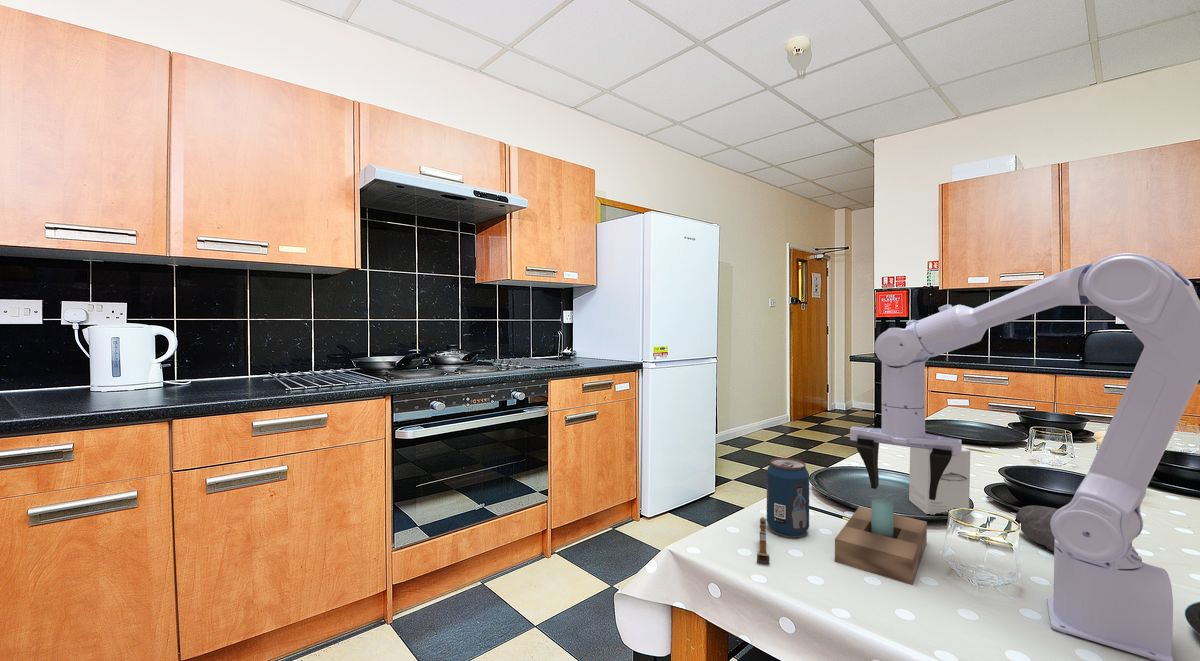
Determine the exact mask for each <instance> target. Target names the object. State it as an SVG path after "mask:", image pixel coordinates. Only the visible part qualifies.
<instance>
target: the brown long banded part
mask: <svg viewBox="0 0 1200 661" xmlns="http://www.w3.org/2000/svg"><path fill="white" fill-rule="evenodd" d="M759 529H760V531H759V552H757V553H756V562H758V563H765V564H770V563H771V562H770V561H771V559H770V558H771V557H770V553H768V552H767V531H766V529H767V518H765V517H764V516H762V517H760V518H759Z"/></svg>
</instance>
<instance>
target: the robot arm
mask: <svg viewBox="0 0 1200 661" xmlns="http://www.w3.org/2000/svg"><path fill="white" fill-rule="evenodd" d="M1059 306H1086V307H1087V306H1088V307H1089V306H1097V307H1099V308H1100V309H1102V310H1103V311H1105V312H1106V313H1108V314H1110V315H1112V316H1114V317H1116V318H1118V319H1119V320H1121V321H1122V322H1124V325H1126V327H1127V328H1128V329H1129V330H1130V331H1131V332H1132V333H1133V334H1134V336H1135V337H1136V338H1138V340H1139V341H1140V342H1141V343H1142V344H1143V350H1142V351H1141V353H1140V356H1139V358H1138V360H1137V362H1136V365H1135V367H1134V369H1133V371H1132V374H1131V376H1130V378H1129V380H1128V383H1127V384H1126V387H1125V389H1124V391H1123V394H1122V396H1121V398H1120V400H1119V403H1118V405H1117V407H1116V409H1115V412H1114V414H1113V416H1112V418H1111V421H1110V423H1109V424H1108V428H1107V430H1106V432H1105V435H1104V436H1103V437H1102V438H1103V439H1102V441H1101V443H1100V445H1099V447H1098V450H1097V452H1096V453H1095V456H1094V459H1093V460H1092V464H1091V465H1090V467H1089V470H1088V471H1087V473H1086V475H1085V476H1084V478H1083V480H1082V481H1081V483H1080V484H1079V485H1078V487H1077V489H1076V491H1075V493H1074V495H1073V497H1072V499H1071V500H1070V502H1069V503H1067V504H1065V505H1064V506H1061V507H1060V508H1057V509H1058V510H1057V511H1056V512H1055V513H1054V514H1053V516H1052V518H1051V522H1050V525H1051V531H1052V533H1053V536H1054V537H1055V540H1054V543H1055V545H1054V552H1053V556H1054V557H1053V595H1052V596H1048V595H1047V596H1046V604H1047V609H1048V615H1049V617H1048V618H1049V622H1050V627H1051V628H1052V629H1054V630H1055V631H1058V632H1061V633H1065V634H1068V635H1071V636H1074V637H1075V636H1076V637H1078V638H1082V639H1083V640H1088V641H1092V642H1095V643H1098V644H1102V645H1105V646H1109V647H1110V648H1115V649H1117V650H1121V651H1125V652H1128V653H1130V654H1134V655H1137V656H1141V657H1144V658H1148V659H1151V660H1155V661H1174V658H1173V623H1174V598H1173V597H1174V595H1173V588H1172V587H1173V586H1172V583H1171V579H1170V575H1169V574H1168V571H1167V570H1166V569H1164V568H1163V567H1162V568H1161V567H1159V566H1155V565H1153V564H1148V563H1146V562H1143V558H1142V556H1140V555H1139V554H1138V552H1137V550H1136V549H1135V547H1134V546H1133V544H1132V545H1130V544H1131V542H1132V543H1133V541H1134V540H1135V539H1136V538H1137V537H1139V536H1140V535H1141V533H1142V531H1143V527H1144V521H1143V517H1142V514H1141V506H1142V502H1143V500H1144V498H1145V496H1146V492H1147V489H1148V486H1149V484H1150V482H1151V480H1152V478H1153V475H1154V473H1156V469H1157V467H1158V466H1159V463H1160V461H1161V459H1162V457H1163V455H1164V453H1165V451H1166V449H1167V447H1168V445H1169V443H1170V441H1171V439H1172V437H1173V435H1174V433H1175V430H1176V429H1177V426H1178V425H1179V423H1180V420H1181V419H1182V416H1183V414H1184V412H1185V410H1186V408H1187V406H1188V404H1189V402H1190V400H1191V398H1192V396H1193V393H1194V392H1195V389H1196V388H1197V385H1198V383H1199V381H1200V298H1199V296H1198V295H1197V291H1196V290H1195V287H1194V284H1193V282H1192V281H1190V280H1189V279H1188V278H1187V277H1185V276H1184V275H1183V274H1182V273H1180V272H1179V271H1177V269H1175V268H1174V267H1173V266H1172V265H1170V264H1168V263H1166V262H1164V261H1162V260H1159V259H1155V258H1152V257H1150V256H1148V255H1145V254H1141V253H1135V252H1132V253H1131V252H1125V253H1124V252H1123V253H1116V254H1113V255H1109V256H1106V257H1104V258H1102V259H1100V260H1098V261H1097V262H1095V263H1090V262H1089V263H1084V264H1081V265H1077V266H1074V267H1071V268H1069V269H1066V270H1063V271H1060V272H1057V273H1054V274H1052V275H1049V276H1047V277H1045V278H1043V279H1040V280H1038V281H1036V282H1033V283H1031V284H1028V285H1026V286H1023V287H1021V288H1018V289H1016V290H1014V291H1012V292H1009V293H1006V294H1004V295H1002V296H1001V297H997V298H995V299H993V300H990V301H988V302H986V303H983V304H981V305H978V306H976V307H974V308H973V307H970V306H966V305H964V304H963V305H962V304H957V305H956V304H955V305H952V304H944V305H942V306H939V307H937V308H938V311H939V312H937V313H934V314H931V315H929V316H927V317H924V318H922V319H918V320H916V319H911V320H909V321H906V323H905V324H906V327H905V328H901V327H889V328H887V329H886V330H885V331H883V332H882V333H880V334H879V335H878V337H877V338H876V340H875V342H874V352H875V355H876V356H877V358H878V360H880V362H881V428H879V427H877V428H876V427H862V426H851V428H849V440H850V441H855V442H856V443H857V444H856V446H855V447H856V450H857V452H858V453H859V455H860V457H861V459H862V461H863V464H864V466H865V468H866V471H867V474H868V479H869V482H870V489H874V490H877V489H878V487H879V480H880V477H879V466H878V464H879V450H880V449H879V448H880V444H883V445H892V446H897V447H898V446H899V447H906V448H910V447H912V448H919V449H927V450H932V452H931V454H930V489H929V499H930V500H935V499H936V493H937V487H938V484H939V481H940V478H941V476H942V474H943V472H944V470H945V468H946V467H947V465H948V464H949V462H950V460H951V457H952V454H955V455H961V452H962V447H963V446H962V441H963V440H962V439H960V438H953V437H946V436H942V435H941V436H940V435H935V434H931V433H926V362H927V361H928V360H929V359H930V358H934V357H937V356H941V355H943V354H946V353H949V352H953V351H954V350H959V349H961V348H965V347H967V346H970V345H972V344H973V345H974V344H977V343H979V342H981V341H982V339H983V337H984V335H985V333H986V331H987V330H988V329H990V328H992V327H996V326H999V325H1003V324H1005V323H1009V322H1012V321H1014V320H1018V319H1021V318H1024V317H1027V316H1031V315H1034V314H1036V313H1039V312H1043V311H1046V310H1049V309H1053V308H1056V307H1059Z"/></svg>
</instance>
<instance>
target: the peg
mask: <svg viewBox="0 0 1200 661" xmlns="http://www.w3.org/2000/svg"><path fill="white" fill-rule="evenodd" d="M894 505H895V504H894V502H892V501H891V500H888V499H885V498H884V499H883V498H873V499H871V509H872V519H871V533H875V534H879V535H882V536H886V537H890V538H893V522H894V512H895V511H894V510H895V506H894Z"/></svg>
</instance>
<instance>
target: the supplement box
mask: <svg viewBox="0 0 1200 661" xmlns="http://www.w3.org/2000/svg"><path fill="white" fill-rule="evenodd" d="M931 452H932V450H927V449H919V448H912V447H909V485H908V486H909V492H908V493H909V494H908V497H909V499H908V500H909V502H910V503H911V504H913V505H914V506H915V507H916V508H918V509H919V510H920V511H922V512H923V513H924V514H926V515H927V514H930V515H935V514H936V513H941V512H945V511H946V512H948V510H950V509H953V508H969V509H970V491H971V490H970V482H971V481H970V480H971V479H970V477H971V476H970V475H971V450H969V449H968V448H966V447H963V446H962V452H961V455H955V454H952V457H951V460H950V462H949V464H948V465H947V467H946V468H945V470H944V472H943V474H942V476H941V478H940V481H939V484H938V487H937V493H936V499H935V500H930V499H929V489H930V454H931Z"/></svg>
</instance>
